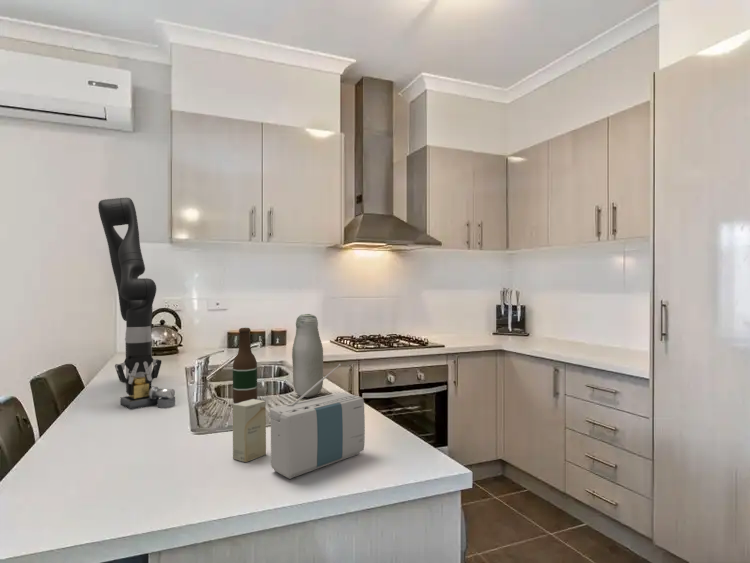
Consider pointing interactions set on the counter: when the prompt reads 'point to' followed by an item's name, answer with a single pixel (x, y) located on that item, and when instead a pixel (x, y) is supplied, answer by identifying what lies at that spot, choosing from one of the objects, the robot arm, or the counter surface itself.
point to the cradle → (137, 402)
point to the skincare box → (249, 430)
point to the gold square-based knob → (140, 388)
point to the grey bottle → (307, 356)
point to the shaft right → (162, 396)
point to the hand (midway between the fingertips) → (139, 393)
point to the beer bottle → (244, 370)
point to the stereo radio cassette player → (316, 432)
